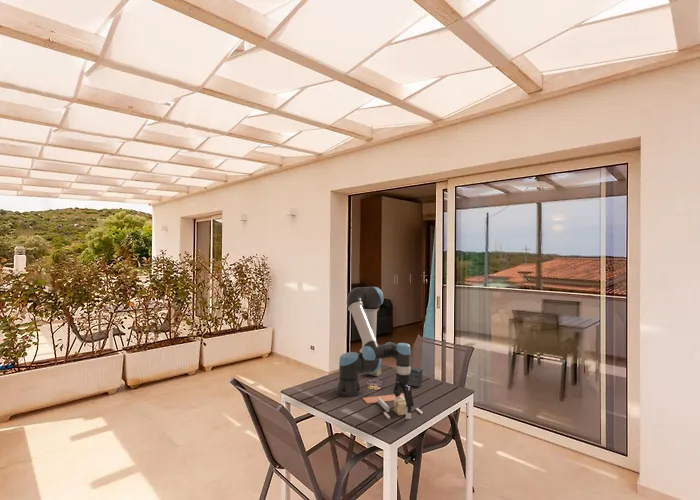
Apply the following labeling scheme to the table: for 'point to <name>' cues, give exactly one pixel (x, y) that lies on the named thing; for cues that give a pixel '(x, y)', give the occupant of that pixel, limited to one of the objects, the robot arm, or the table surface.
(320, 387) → the table surface
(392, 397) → the mat
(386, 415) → the strips
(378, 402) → the guide rails
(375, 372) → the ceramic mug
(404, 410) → the maple block
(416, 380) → the small box
